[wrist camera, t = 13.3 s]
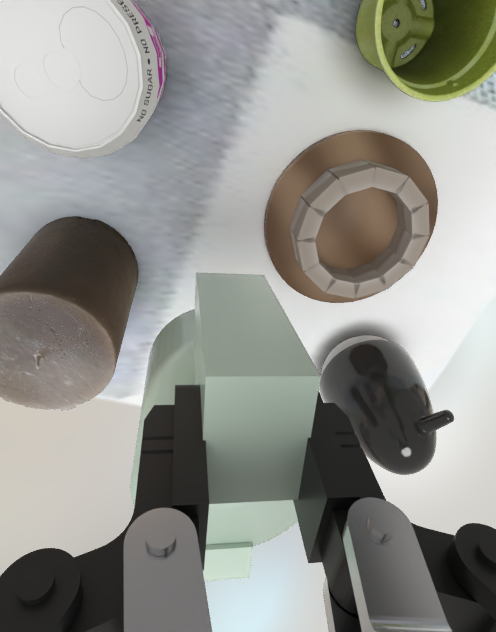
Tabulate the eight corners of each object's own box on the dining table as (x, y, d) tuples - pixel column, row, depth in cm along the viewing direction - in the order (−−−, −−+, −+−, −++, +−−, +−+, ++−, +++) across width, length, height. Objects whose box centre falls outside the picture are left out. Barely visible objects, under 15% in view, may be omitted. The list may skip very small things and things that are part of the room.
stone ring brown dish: (366, 85, 35) (387, 89, 31) (461, 218, 42) (487, 233, 38) (228, 226, 39) (232, 243, 36) (334, 324, 46) (347, 346, 43)
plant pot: (308, 12, 32) (345, -1, 24) (417, -96, 29) (496, -146, 22) (372, 117, 36) (421, 133, 29) (472, 31, 34) (554, 24, 26)
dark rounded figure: (417, 340, 49) (500, 442, 36) (360, 403, 53) (417, 515, 40) (348, 304, 45) (414, 404, 32) (293, 375, 49) (332, 488, 36)
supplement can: (137, -26, 29) (101, -88, 17) (184, 102, 34) (183, 131, 21) (28, 18, 30) (-89, -10, 17) (87, 138, 34) (30, 188, 21)
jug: (267, 435, 24) (334, 672, 13) (149, 438, 23) (120, 697, 12) (290, 246, 20) (409, 376, 9) (147, 240, 19) (102, 377, 8)
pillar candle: (109, 201, 37) (65, 278, 24) (154, 296, 42) (138, 401, 29) (4, 236, 37) (-93, 330, 25) (61, 325, 42) (6, 442, 30)
